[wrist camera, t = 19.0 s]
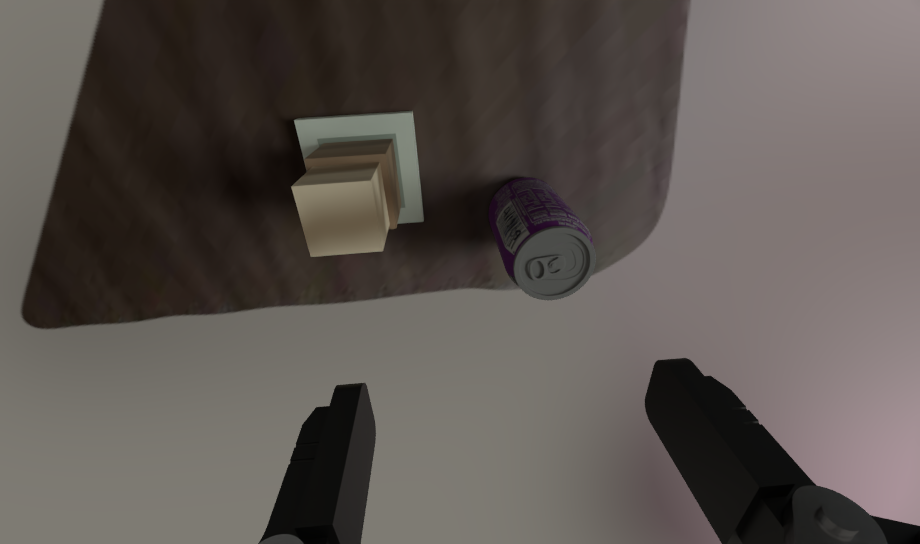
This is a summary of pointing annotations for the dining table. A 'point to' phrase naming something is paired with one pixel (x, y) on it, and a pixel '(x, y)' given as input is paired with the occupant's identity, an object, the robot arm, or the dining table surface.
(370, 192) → the beech cube
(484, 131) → the dining table surface
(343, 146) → the walnut cube
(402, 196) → the plate
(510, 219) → the beverage can
